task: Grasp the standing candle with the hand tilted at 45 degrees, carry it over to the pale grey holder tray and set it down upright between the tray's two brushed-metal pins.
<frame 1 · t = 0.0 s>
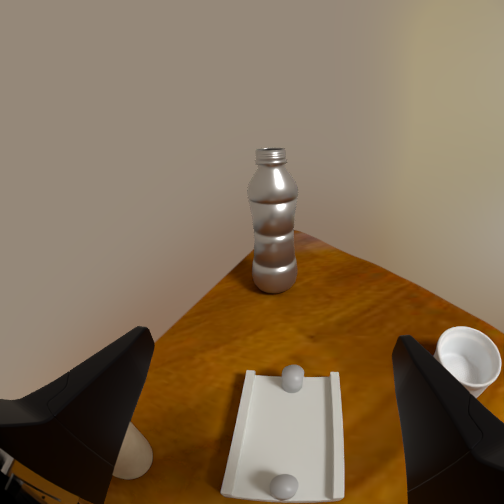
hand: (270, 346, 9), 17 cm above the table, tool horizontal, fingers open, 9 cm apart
ramekin: (454, 380, 21), on the table
plastic bottle: (275, 287, 41), on the table
candle: (127, 455, 17), on the table
tray: (288, 437, 19), on the table
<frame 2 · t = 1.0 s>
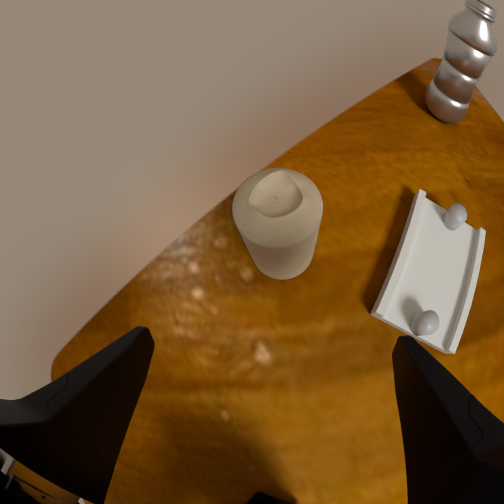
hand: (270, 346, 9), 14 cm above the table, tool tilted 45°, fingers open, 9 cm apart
plastic bottle: (440, 114, 27), on the table
candle: (282, 250, 24), on the table
tray: (433, 271, 21), on the table
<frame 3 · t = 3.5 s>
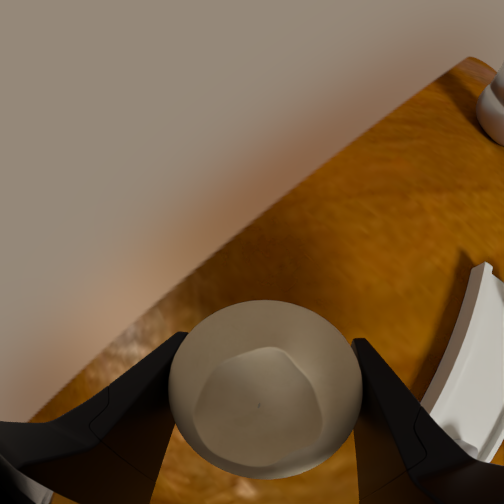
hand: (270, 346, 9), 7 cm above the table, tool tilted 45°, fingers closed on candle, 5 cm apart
plastic bottle: (492, 132, 17), on the table
candle: (278, 365, 15), on the table, touching gripper
tray: (482, 377, 12), on the table
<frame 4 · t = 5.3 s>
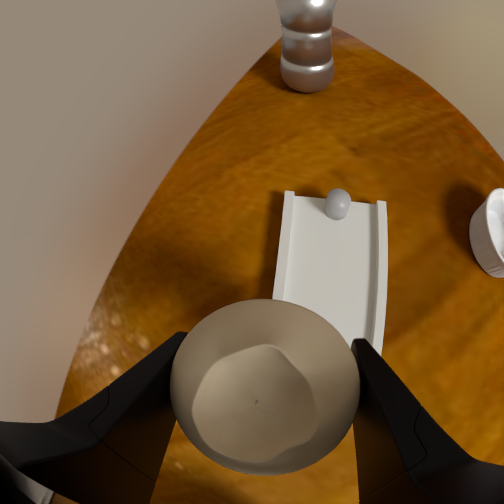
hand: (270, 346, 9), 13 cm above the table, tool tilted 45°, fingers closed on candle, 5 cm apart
ramekin: (490, 243, 20), on the table
plastic bottle: (307, 84, 29), on the table
candle: (281, 363, 15), point 6 cm above the table, touching gripper
tray: (330, 274, 22), on the table
when the fingers open (9 cm above the table, at t = 7.5 s): candle drops 2 cm, resting on tray.
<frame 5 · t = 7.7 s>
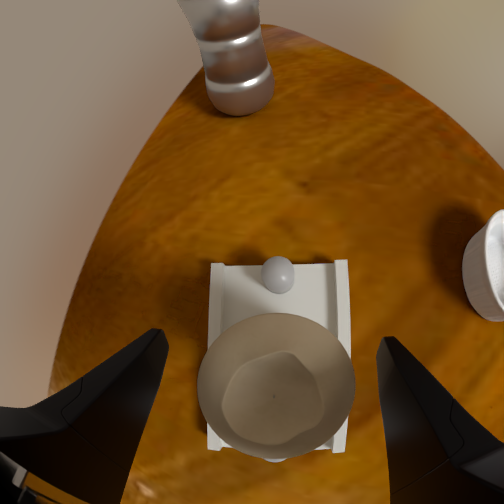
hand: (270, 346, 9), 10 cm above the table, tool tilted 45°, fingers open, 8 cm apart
ramekin: (489, 276, 16), on the table
plastic bottle: (245, 104, 25), on the table
candle: (283, 364, 16), point 1 cm above the table, touching tray
tray: (279, 360, 17), on the table
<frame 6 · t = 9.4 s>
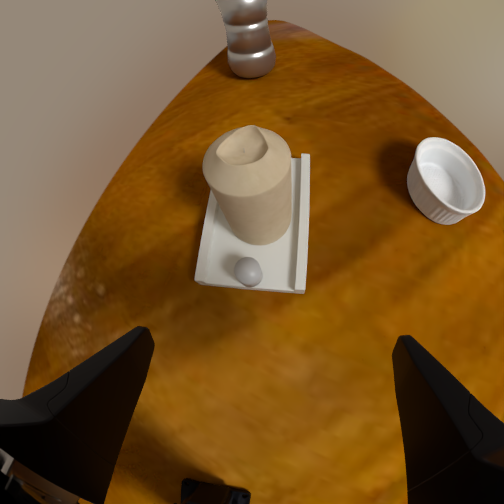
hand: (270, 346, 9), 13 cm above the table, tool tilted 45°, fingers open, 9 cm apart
ramekin: (435, 193, 24), on the table
plastic bottle: (254, 72, 33), on the table
candle: (260, 217, 24), point 1 cm above the table, touching tray
tray: (258, 219, 25), on the table
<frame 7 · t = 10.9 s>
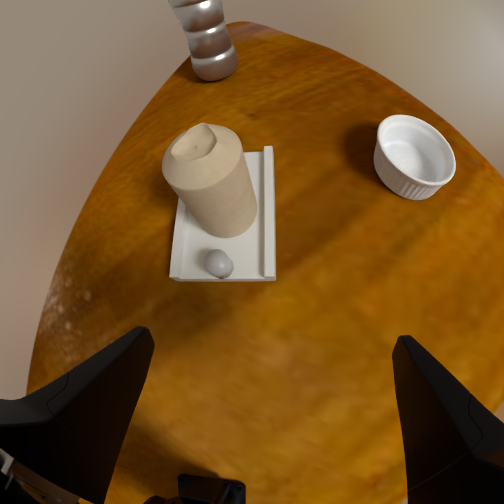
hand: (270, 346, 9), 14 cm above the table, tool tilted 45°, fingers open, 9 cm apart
ramekin: (405, 170, 25), on the table
plastic bottle: (219, 74, 34), on the table
candle: (228, 212, 25), point 1 cm above the table, touching tray
tray: (227, 214, 26), on the table
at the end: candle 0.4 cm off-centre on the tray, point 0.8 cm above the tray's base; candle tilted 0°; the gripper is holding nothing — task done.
